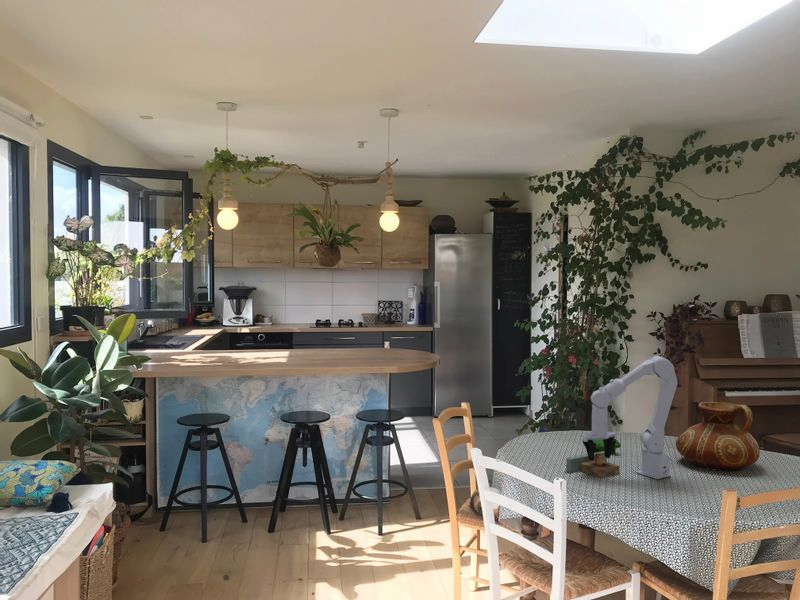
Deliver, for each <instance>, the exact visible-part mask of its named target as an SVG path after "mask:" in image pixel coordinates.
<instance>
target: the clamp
mask: <svg viewBox="0 0 800 600" xmlns="http://www.w3.org/2000/svg"><path fill="white" fill-rule="evenodd" d="M615 440H616V444H615V445H614V447H613V449H612V452H611V454H612V455H613V454H615V455H616V449H620V448H621V445H622V444H621V442H620V441H618V439H617V438H615ZM593 442H594V443H596V446H595V451H594V453H597V452H602V451H603V452H604V443H603V439H602V440H593Z"/></svg>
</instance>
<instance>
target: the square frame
mask: <svg viewBox="0 0 800 600" xmlns="http://www.w3.org/2000/svg"><path fill="white" fill-rule="evenodd" d="M579 472H582V473H585V474H588V475H591V476H594V477H598V478H600V479H601V478H606V477H610V476H615V474H616V475H619V474H620V465H618V464H615V463H611V462H608V461H607V462H605V461H603V467H599V466H595V460H594V461H588V462H583V463H580V471H579Z"/></svg>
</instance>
